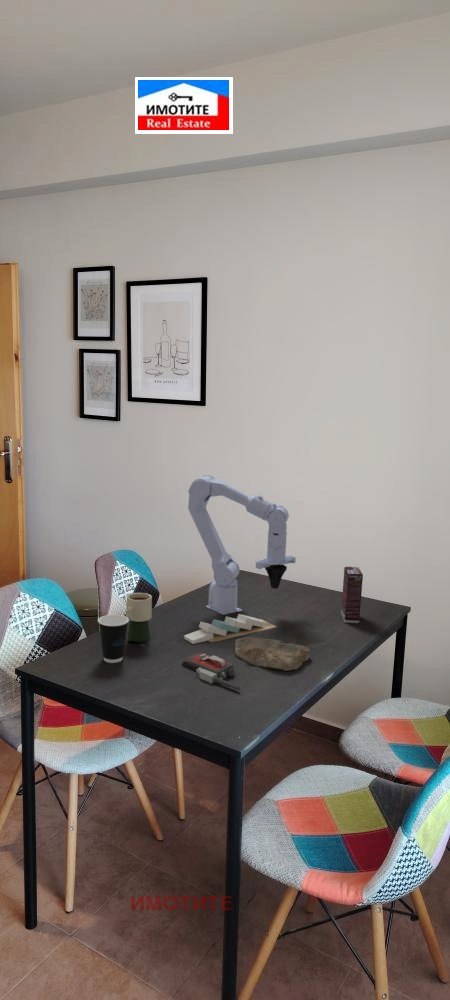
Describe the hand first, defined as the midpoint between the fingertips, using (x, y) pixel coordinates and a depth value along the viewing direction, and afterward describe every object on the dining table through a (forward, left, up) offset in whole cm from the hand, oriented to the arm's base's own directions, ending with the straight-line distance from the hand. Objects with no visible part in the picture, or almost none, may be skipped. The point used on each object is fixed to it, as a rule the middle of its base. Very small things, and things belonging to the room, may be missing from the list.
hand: (274, 587), depth 220 cm
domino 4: (+5, -10, -8) cm, 14 cm away
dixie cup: (+4, -58, -10) cm, 59 cm away
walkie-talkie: (+27, -40, -10) cm, 49 cm away
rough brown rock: (+25, -22, -10) cm, 34 cm away
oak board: (+5, -18, -9) cm, 21 cm away
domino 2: (+5, -24, -8) cm, 25 cm away
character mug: (-4, -46, -10) cm, 47 cm away
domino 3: (+5, -14, -8) cm, 17 cm away
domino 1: (+5, -28, -8) cm, 30 cm away
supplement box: (+14, +20, -10) cm, 26 cm away
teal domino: (+5, -19, -8) cm, 21 cm away
